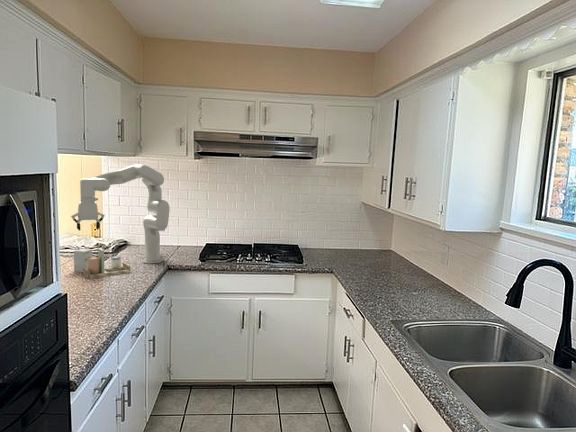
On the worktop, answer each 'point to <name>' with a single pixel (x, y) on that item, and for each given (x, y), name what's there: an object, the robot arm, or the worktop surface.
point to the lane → (125, 267)
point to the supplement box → (81, 259)
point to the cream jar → (115, 261)
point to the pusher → (101, 260)
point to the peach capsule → (94, 265)
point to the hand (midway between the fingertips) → (88, 229)
